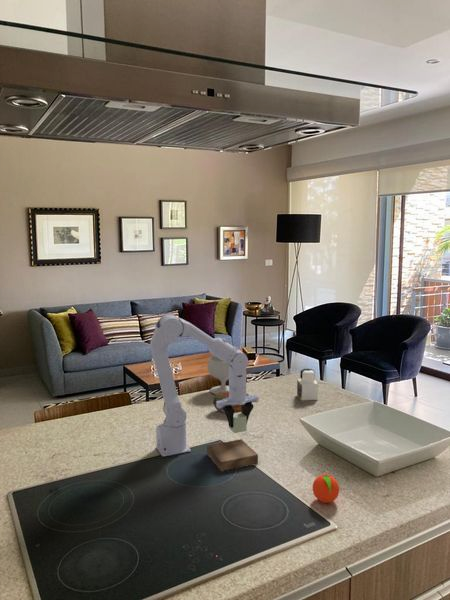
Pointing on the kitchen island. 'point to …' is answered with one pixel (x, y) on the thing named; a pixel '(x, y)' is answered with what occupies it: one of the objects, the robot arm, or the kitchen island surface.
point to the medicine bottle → (307, 385)
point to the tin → (225, 395)
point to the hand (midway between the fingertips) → (237, 425)
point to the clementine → (325, 488)
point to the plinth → (232, 454)
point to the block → (239, 422)
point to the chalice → (218, 373)
